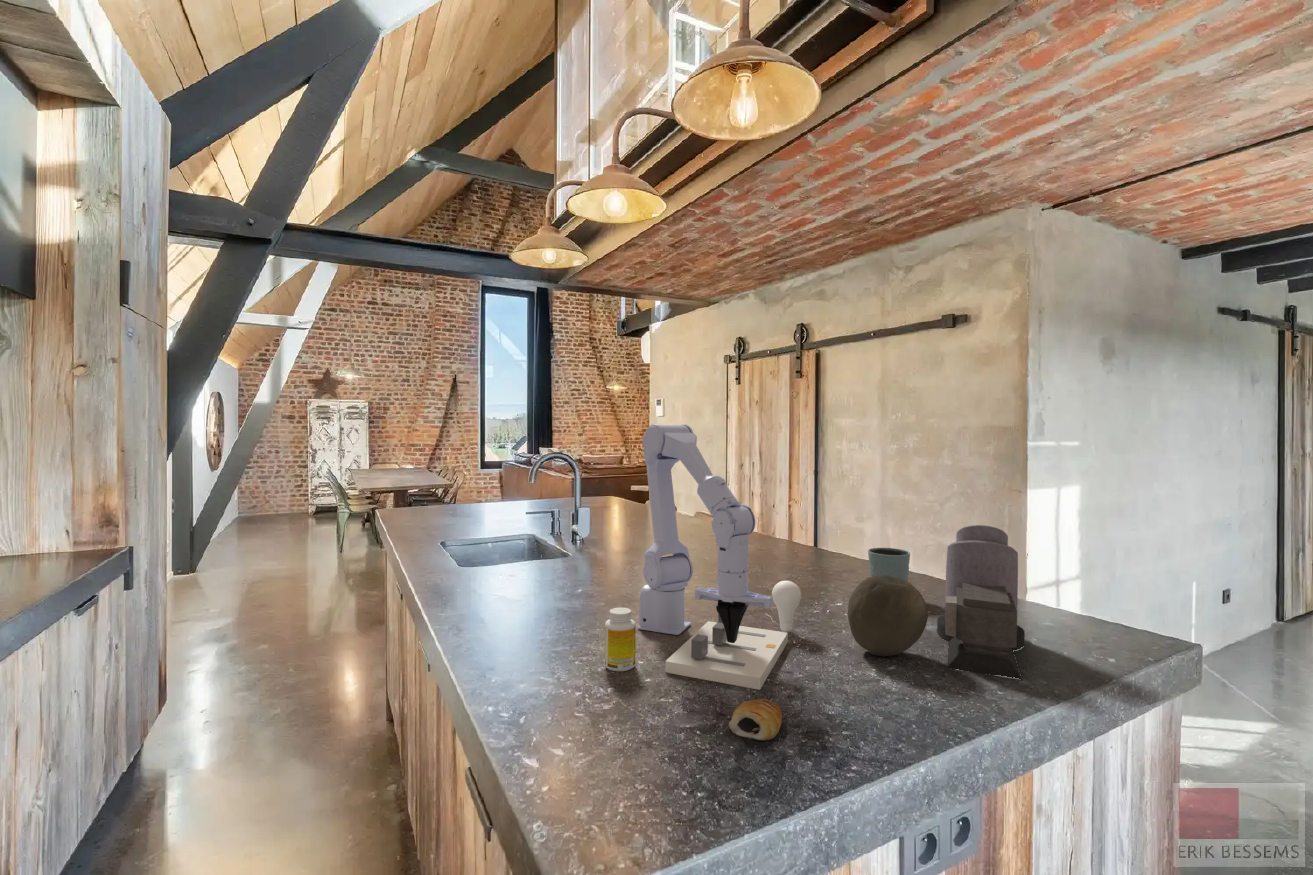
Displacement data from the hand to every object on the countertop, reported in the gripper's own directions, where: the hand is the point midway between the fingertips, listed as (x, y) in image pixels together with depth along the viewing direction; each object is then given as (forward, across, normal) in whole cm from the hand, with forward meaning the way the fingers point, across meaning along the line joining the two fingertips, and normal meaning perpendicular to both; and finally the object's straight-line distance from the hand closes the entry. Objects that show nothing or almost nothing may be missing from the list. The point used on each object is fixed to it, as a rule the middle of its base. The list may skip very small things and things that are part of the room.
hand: (732, 640), depth 113 cm
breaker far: (+1, -4, +8) cm, 9 cm away
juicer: (+3, +44, +26) cm, 51 cm away
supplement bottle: (+3, -17, -13) cm, 22 cm away
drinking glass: (+3, +26, +56) cm, 62 cm away
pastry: (+3, +11, -24) cm, 27 cm away
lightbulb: (+3, +7, +18) cm, 20 cm away
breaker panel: (+3, 0, 0) cm, 3 cm away
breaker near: (+1, -4, -8) cm, 9 cm away
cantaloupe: (+3, +27, +14) cm, 30 cm away
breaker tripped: (+1, -2, 0) cm, 2 cm away
